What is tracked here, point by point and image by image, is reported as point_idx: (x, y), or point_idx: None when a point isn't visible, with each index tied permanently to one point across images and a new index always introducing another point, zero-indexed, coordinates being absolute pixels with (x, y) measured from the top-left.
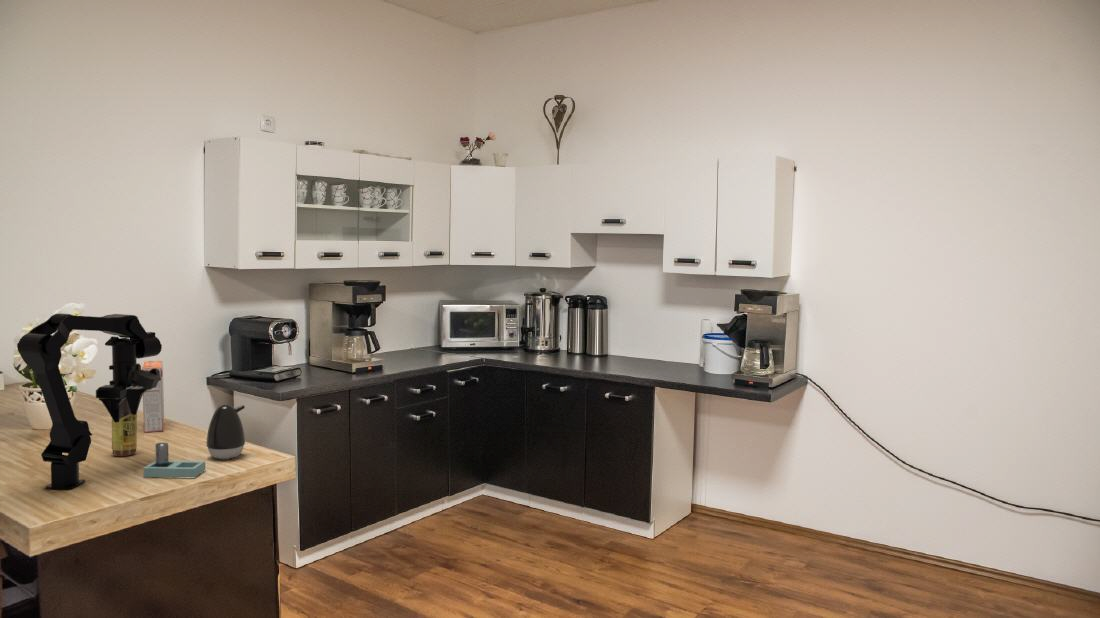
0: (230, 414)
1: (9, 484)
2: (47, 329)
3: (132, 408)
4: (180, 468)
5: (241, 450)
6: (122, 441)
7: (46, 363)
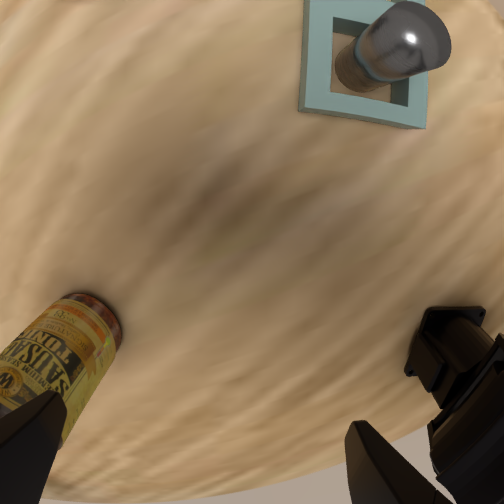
0: None
1: (391, 442)
2: None
3: (46, 445)
4: None
5: None
6: (96, 353)
7: None
